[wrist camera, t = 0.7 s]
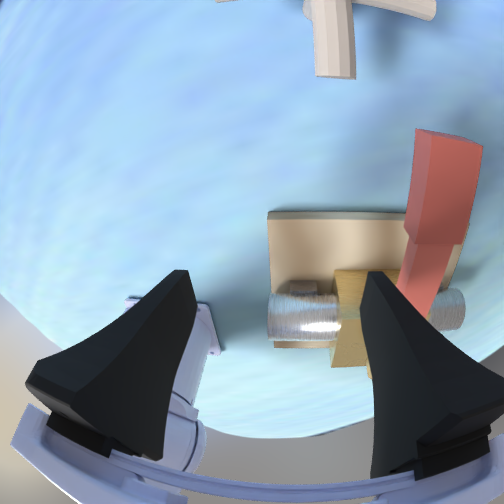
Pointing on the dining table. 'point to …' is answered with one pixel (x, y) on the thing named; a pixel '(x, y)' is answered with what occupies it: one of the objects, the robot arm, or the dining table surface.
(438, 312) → the ball valve
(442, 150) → the lever
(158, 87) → the dining table surface
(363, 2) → the pipe connector
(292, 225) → the mounting board
